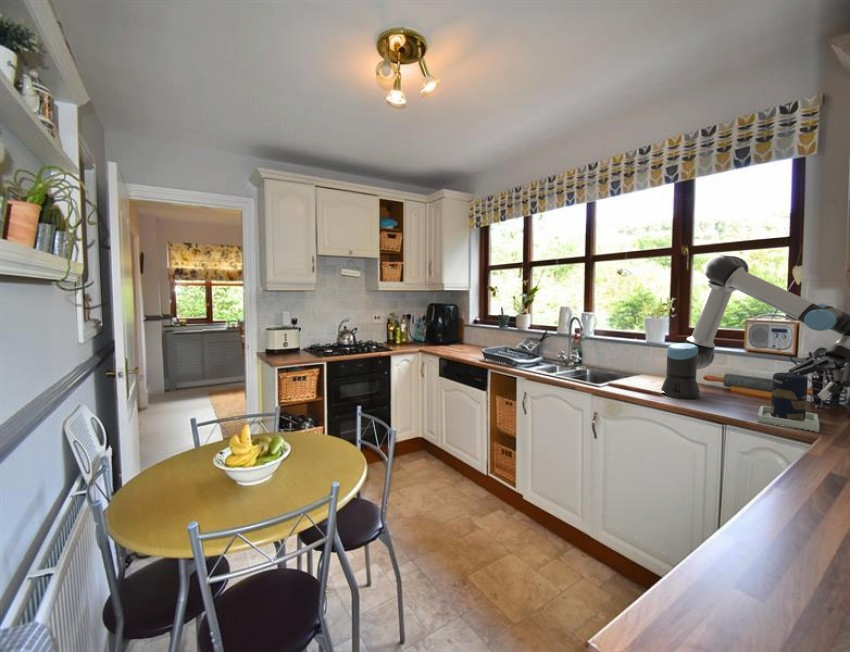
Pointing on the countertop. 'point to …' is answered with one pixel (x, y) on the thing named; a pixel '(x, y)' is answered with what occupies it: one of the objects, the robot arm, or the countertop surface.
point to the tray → (808, 424)
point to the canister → (789, 396)
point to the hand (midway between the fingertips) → (801, 392)
